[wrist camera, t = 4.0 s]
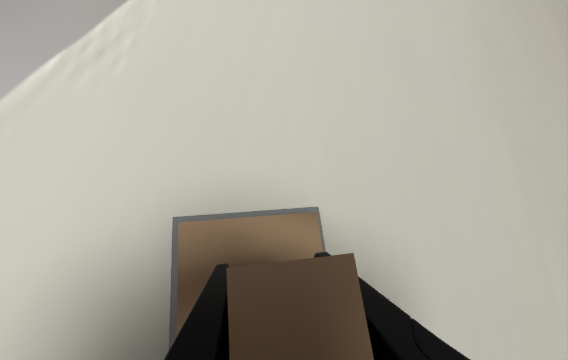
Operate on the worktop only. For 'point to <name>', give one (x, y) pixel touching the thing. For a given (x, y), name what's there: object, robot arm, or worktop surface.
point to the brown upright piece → (276, 288)
